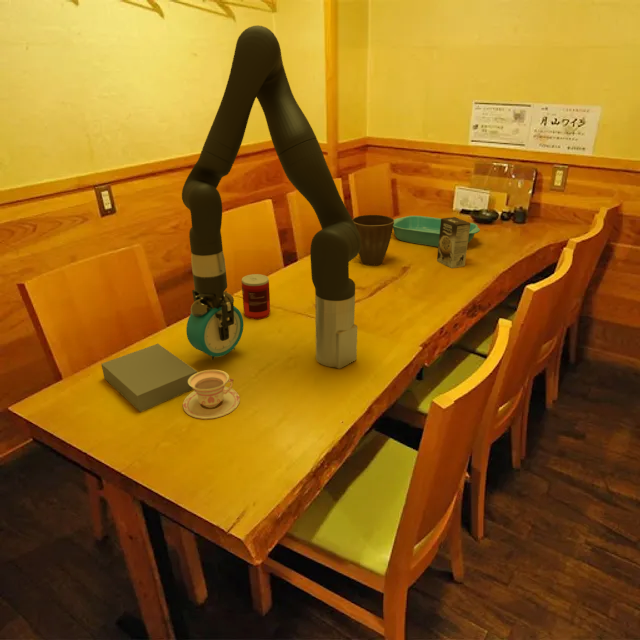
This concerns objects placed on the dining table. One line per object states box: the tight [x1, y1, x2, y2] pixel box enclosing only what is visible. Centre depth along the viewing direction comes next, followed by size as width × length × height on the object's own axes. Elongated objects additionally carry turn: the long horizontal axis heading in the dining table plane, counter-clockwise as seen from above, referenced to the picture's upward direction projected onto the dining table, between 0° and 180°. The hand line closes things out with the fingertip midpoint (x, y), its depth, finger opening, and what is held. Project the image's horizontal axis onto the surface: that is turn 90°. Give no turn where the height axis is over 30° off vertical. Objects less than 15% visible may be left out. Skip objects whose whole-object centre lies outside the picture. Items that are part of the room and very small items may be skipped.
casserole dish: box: [392, 215, 481, 248], centre depth 215 cm, size 37×22×7 cm, turn 57°
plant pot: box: [352, 214, 395, 267], centre depth 188 cm, size 15×15×16 cm
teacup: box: [182, 369, 241, 420], centre depth 109 cm, size 12×12×6 cm
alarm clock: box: [185, 290, 244, 361], centre depth 125 cm, size 13×6×15 cm, turn 139°
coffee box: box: [436, 216, 471, 269], centre depth 187 cm, size 9×6×16 cm
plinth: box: [100, 343, 198, 413], centre depth 117 cm, size 18×14×4 cm
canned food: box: [241, 273, 271, 320], centre depth 149 cm, size 8×8×11 cm
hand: (216, 334), depth 126 cm, fingers closed on alarm clock, 6 cm apart
